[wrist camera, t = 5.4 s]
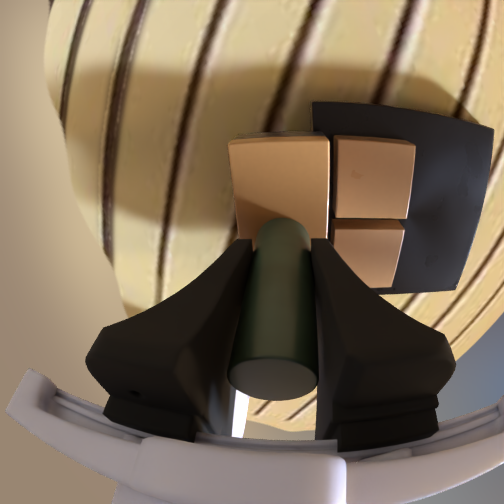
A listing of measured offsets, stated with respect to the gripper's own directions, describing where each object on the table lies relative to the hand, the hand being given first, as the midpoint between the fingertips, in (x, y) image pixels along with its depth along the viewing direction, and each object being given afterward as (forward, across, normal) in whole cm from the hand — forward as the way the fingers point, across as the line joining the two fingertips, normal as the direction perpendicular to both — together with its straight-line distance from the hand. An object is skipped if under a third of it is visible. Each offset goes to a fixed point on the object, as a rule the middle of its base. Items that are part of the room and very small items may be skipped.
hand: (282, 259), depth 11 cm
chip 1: (+4, -5, -2) cm, 7 cm away
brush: (+4, 0, 0) cm, 4 cm away
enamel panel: (+6, -7, 0) cm, 9 cm away
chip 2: (+4, -5, +2) cm, 7 cm away
